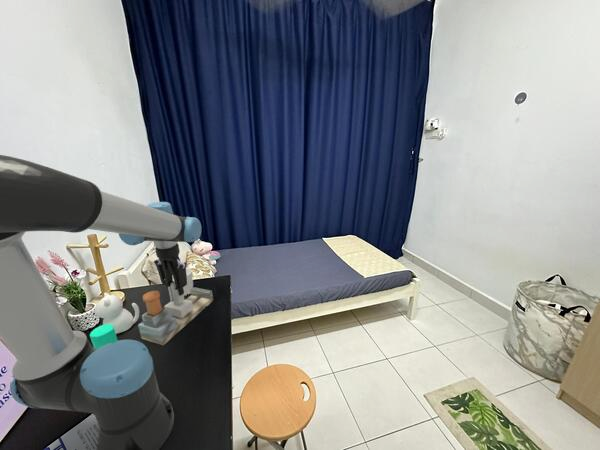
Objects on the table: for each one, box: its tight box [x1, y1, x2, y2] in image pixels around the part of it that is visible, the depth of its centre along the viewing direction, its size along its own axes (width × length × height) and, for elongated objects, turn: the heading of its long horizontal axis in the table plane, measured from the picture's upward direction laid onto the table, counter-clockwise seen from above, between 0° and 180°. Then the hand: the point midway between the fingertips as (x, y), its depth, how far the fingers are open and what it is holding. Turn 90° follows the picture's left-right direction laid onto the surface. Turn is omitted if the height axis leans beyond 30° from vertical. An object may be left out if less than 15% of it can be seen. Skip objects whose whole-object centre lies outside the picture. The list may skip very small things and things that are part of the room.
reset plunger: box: [142, 290, 162, 316], centre depth 85 cm, size 5×5×7 cm
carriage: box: [163, 282, 193, 318], centre depth 96 cm, size 6×8×13 cm
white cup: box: [183, 268, 194, 296], centre depth 115 cm, size 8×8×10 cm
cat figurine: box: [94, 292, 140, 335], centre depth 91 cm, size 9×12×15 cm
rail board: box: [137, 286, 214, 346], centre depth 97 cm, size 27×10×10 cm, turn 161°
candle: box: [89, 324, 119, 349], centre depth 79 cm, size 6×6×12 cm
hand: (177, 300), depth 96 cm, fingers closed on carriage, 3 cm apart
